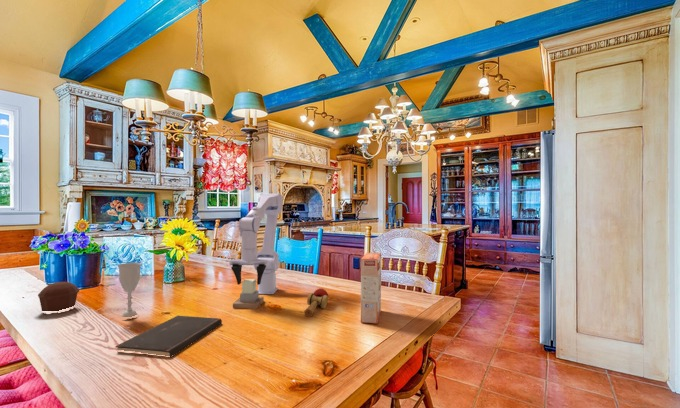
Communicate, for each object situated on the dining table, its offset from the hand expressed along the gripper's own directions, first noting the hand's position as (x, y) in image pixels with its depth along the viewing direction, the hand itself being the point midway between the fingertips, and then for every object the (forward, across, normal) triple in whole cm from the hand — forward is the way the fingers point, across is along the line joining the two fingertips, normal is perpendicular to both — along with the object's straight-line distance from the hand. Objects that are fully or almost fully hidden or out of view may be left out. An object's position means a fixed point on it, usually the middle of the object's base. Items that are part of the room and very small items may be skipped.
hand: (249, 284), depth 120 cm
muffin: (+8, -67, -8) cm, 68 cm away
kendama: (+8, +26, -4) cm, 28 cm away
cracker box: (+8, +46, -12) cm, 48 cm away
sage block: (+3, 0, 0) cm, 3 cm away
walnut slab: (+9, 0, 0) cm, 9 cm away
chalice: (+8, -36, -15) cm, 40 cm away
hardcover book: (+9, -12, -30) cm, 33 cm away
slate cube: (+6, 0, 0) cm, 6 cm away
